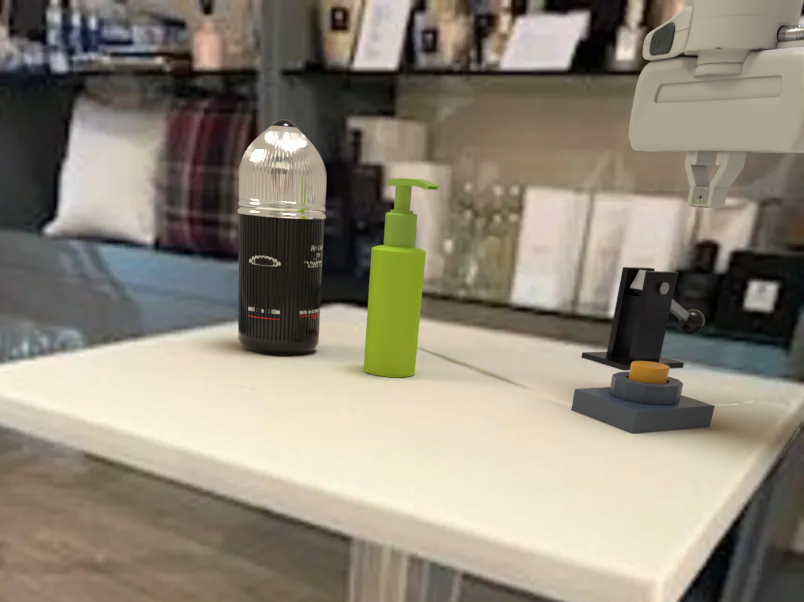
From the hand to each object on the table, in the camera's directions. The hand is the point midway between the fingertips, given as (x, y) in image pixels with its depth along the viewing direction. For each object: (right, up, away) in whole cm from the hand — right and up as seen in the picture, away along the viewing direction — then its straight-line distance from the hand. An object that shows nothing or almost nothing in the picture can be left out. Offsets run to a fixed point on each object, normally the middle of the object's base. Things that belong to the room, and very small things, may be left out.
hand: (705, 207), depth 81 cm
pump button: (-4, -15, +4) cm, 16 cm away
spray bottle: (-42, -5, +27) cm, 50 cm away
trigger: (+7, 0, +30) cm, 31 cm away
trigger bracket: (+3, -6, +31) cm, 32 cm away
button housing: (-4, -18, +6) cm, 20 cm away
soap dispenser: (-28, -11, +19) cm, 35 cm away
